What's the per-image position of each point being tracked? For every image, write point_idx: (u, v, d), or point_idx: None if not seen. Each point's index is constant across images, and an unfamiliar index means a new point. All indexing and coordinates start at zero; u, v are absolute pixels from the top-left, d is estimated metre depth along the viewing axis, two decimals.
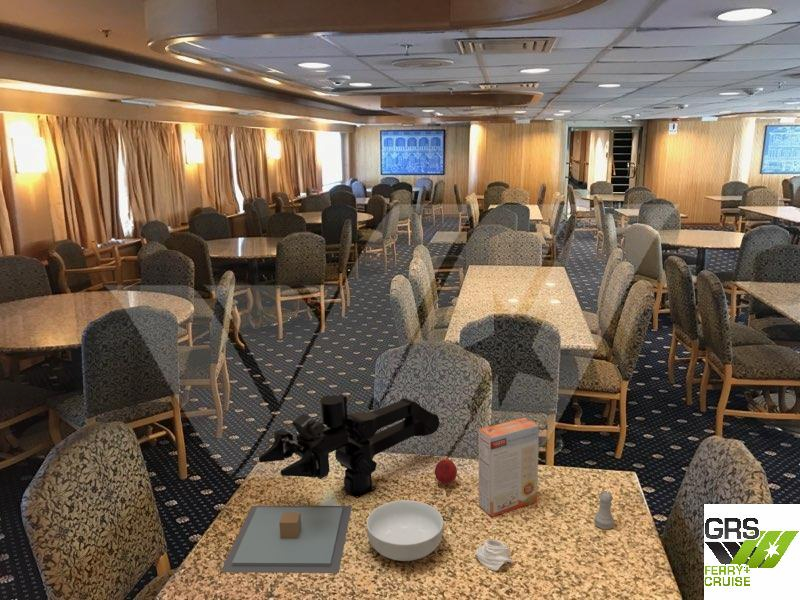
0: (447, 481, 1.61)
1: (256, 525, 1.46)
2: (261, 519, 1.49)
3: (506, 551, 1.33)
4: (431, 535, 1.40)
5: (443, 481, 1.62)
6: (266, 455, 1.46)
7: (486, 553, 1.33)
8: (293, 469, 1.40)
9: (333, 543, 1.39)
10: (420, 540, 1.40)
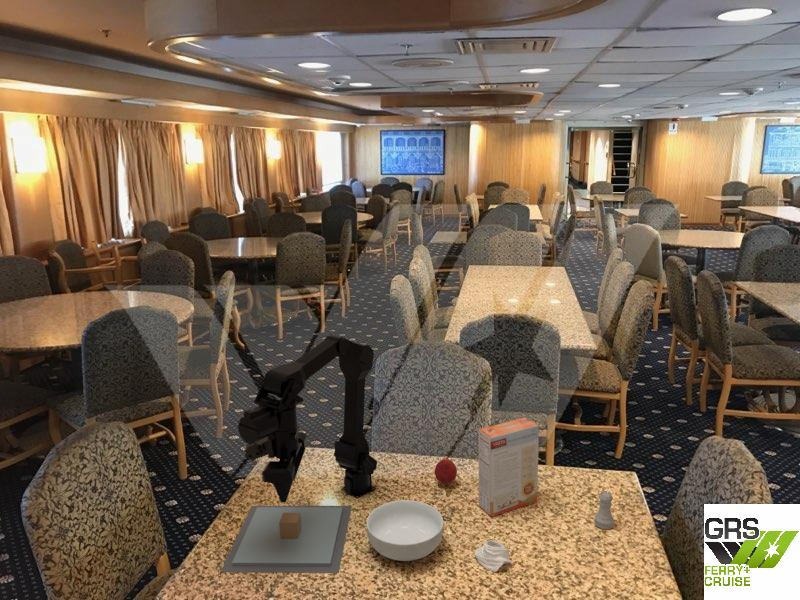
0: (447, 481, 1.61)
1: (256, 525, 1.46)
2: (261, 519, 1.49)
3: (506, 552, 1.32)
4: (431, 535, 1.40)
5: (443, 481, 1.62)
6: None
7: (485, 554, 1.33)
8: (281, 493, 1.34)
9: (333, 543, 1.39)
10: (420, 540, 1.40)
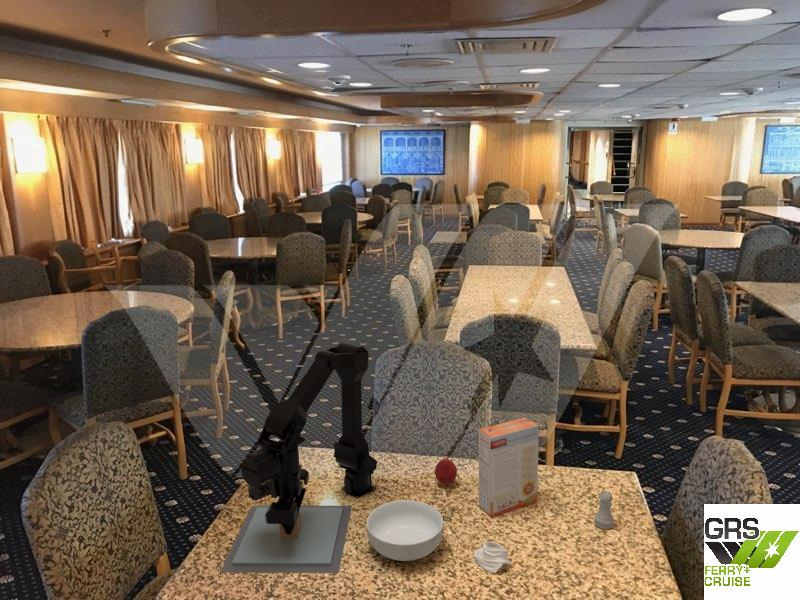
0: (447, 481, 1.61)
1: (256, 525, 1.46)
2: (261, 519, 1.49)
3: (505, 553, 1.32)
4: (431, 535, 1.40)
5: (443, 481, 1.62)
6: None
7: (484, 555, 1.32)
8: (286, 526, 1.39)
9: (333, 543, 1.39)
10: (420, 540, 1.40)
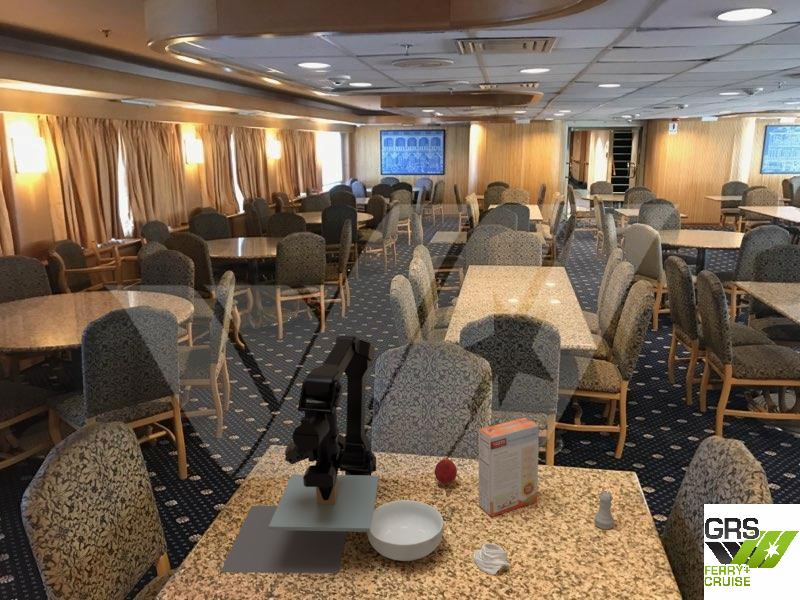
0: (447, 481, 1.61)
1: (291, 491, 1.43)
2: (296, 485, 1.45)
3: (504, 555, 1.31)
4: (431, 535, 1.40)
5: (443, 481, 1.62)
6: None
7: (483, 557, 1.32)
8: (323, 491, 1.35)
9: (371, 509, 1.35)
10: (420, 540, 1.40)
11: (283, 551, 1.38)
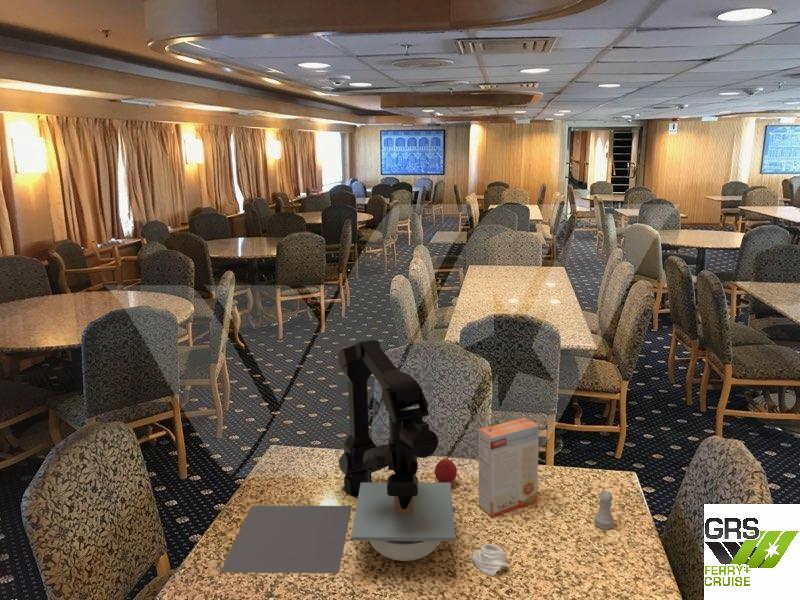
0: (447, 481, 1.61)
1: (365, 499, 1.40)
2: (368, 494, 1.42)
3: (503, 556, 1.31)
4: None
5: (443, 481, 1.62)
6: None
7: (483, 558, 1.31)
8: (402, 500, 1.32)
9: (452, 518, 1.32)
10: None
11: (283, 551, 1.38)
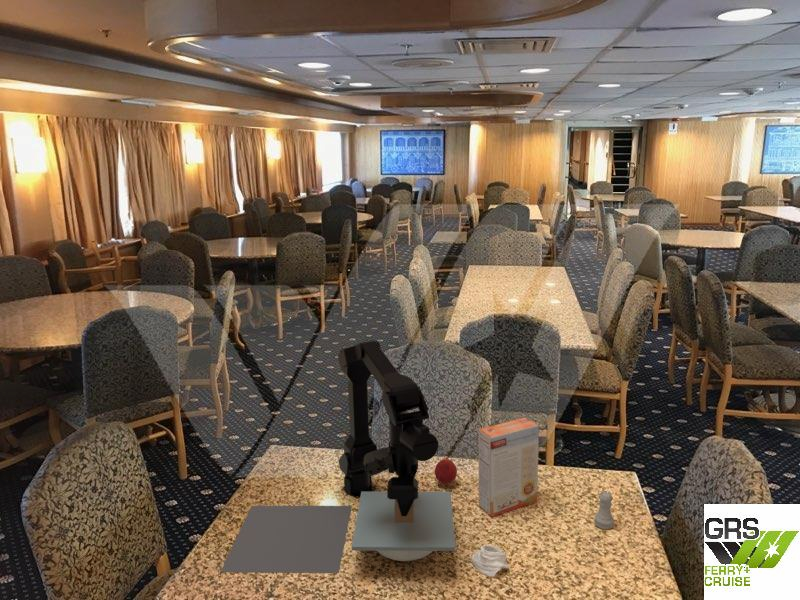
0: (447, 481, 1.61)
1: (365, 509, 1.40)
2: (369, 503, 1.43)
3: (503, 557, 1.31)
4: None
5: (443, 481, 1.62)
6: None
7: (482, 559, 1.31)
8: (402, 507, 1.31)
9: (452, 527, 1.33)
10: None
11: (283, 551, 1.38)
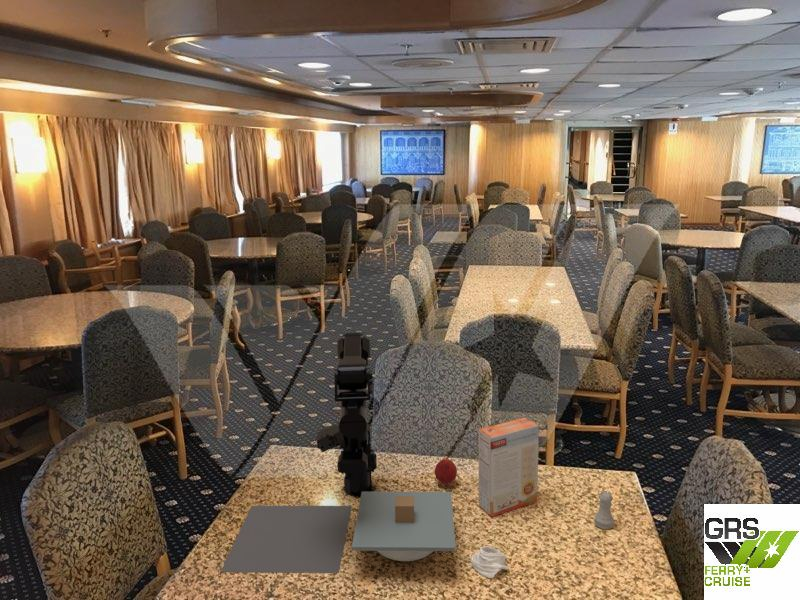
0: (447, 481, 1.61)
1: (366, 509, 1.40)
2: (369, 503, 1.42)
3: (502, 558, 1.30)
4: None
5: (443, 481, 1.62)
6: None
7: (481, 560, 1.31)
8: (353, 482, 1.37)
9: (452, 527, 1.33)
10: None
11: (283, 551, 1.38)
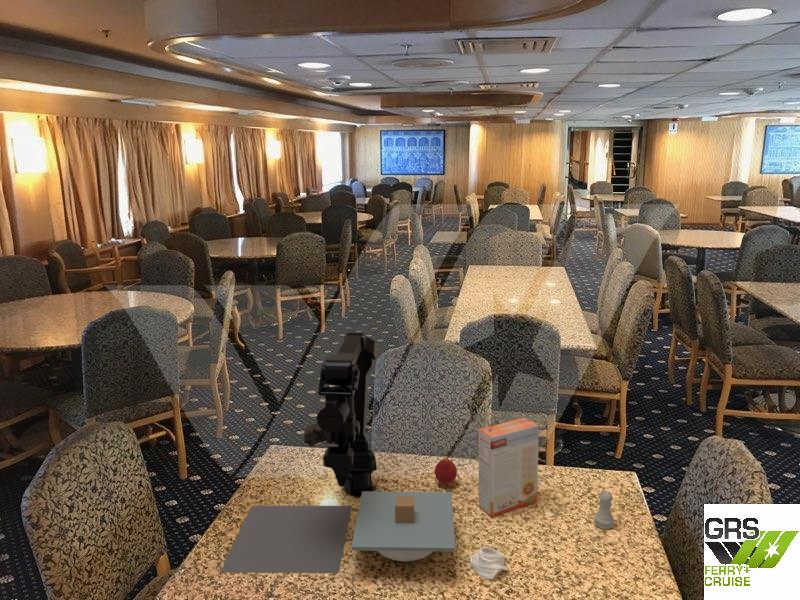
0: (447, 481, 1.61)
1: (366, 509, 1.40)
2: (369, 503, 1.42)
3: (501, 559, 1.30)
4: None
5: (443, 481, 1.62)
6: None
7: (480, 561, 1.30)
8: (339, 477, 1.38)
9: (452, 528, 1.33)
10: None
11: (283, 551, 1.38)
